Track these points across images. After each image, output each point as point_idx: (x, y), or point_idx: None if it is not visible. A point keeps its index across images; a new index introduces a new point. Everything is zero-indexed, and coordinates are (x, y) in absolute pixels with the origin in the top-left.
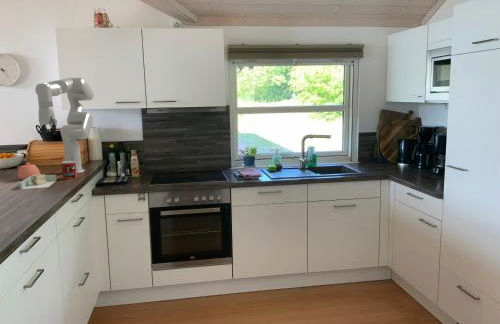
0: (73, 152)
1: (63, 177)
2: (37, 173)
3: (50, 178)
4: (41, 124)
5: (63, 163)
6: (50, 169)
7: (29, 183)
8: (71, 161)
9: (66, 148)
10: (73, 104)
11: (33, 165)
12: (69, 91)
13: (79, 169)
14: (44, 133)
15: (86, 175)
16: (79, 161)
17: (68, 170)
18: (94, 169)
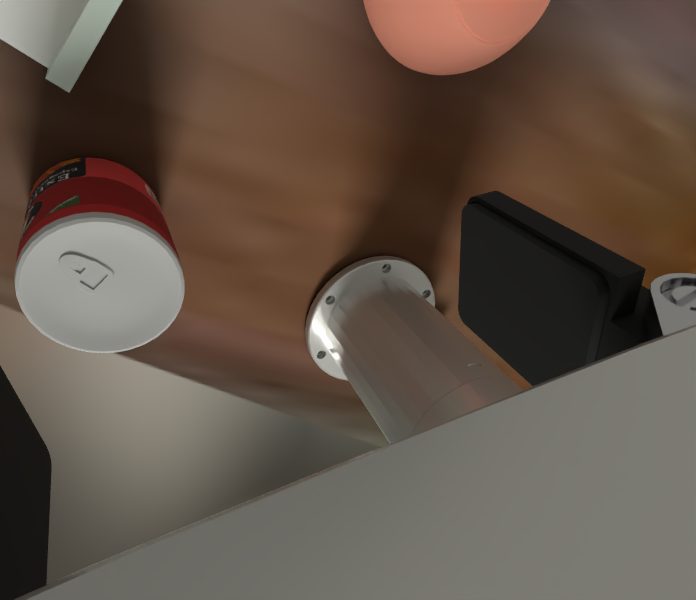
0: (397, 417)
1: (90, 161)
2: (379, 20)
3: (74, 23)
4: (643, 344)
5: (57, 221)
6: (597, 234)
7: None
8: (136, 323)
9: (462, 398)
10: None
11: (460, 11)
12: None
13: (331, 353)
14: (465, 256)
15: (166, 350)
16: (359, 396)
17: (24, 224)
18: (342, 428)
